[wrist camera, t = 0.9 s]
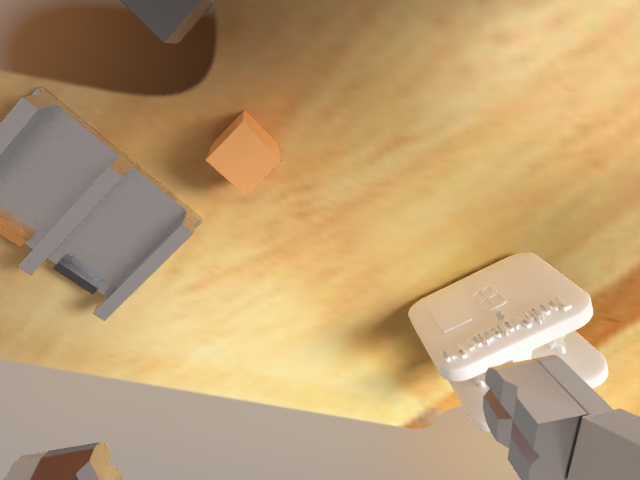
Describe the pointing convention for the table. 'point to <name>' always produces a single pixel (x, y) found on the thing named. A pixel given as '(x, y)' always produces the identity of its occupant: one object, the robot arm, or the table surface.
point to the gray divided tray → (83, 203)
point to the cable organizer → (505, 326)
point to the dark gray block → (169, 16)
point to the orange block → (244, 153)
